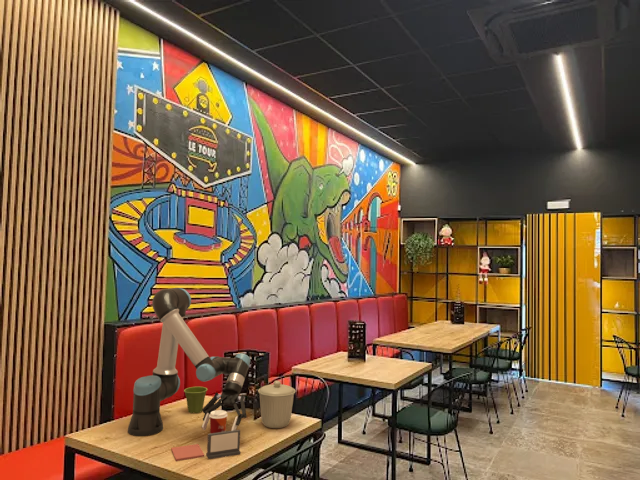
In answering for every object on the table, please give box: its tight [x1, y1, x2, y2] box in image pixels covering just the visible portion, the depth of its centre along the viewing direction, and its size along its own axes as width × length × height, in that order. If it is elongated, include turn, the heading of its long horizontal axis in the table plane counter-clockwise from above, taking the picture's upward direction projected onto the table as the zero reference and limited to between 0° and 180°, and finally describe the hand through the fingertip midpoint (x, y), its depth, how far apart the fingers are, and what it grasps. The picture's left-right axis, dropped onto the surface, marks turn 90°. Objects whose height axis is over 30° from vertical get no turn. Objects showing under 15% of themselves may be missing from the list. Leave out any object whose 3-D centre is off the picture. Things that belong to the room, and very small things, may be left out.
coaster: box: [170, 443, 205, 462], centre depth 190 cm, size 12×11×1 cm
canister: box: [257, 380, 296, 429], centre depth 226 cm, size 18×18×21 cm
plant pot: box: [183, 386, 208, 414], centre depth 243 cm, size 12×12×11 cm
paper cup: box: [209, 409, 228, 434], centre depth 199 cm, size 8×8×14 cm
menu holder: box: [205, 429, 241, 460], centre depth 189 cm, size 4×13×9 cm, turn 116°
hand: (218, 430), depth 197 cm, fingers open, 13 cm apart
